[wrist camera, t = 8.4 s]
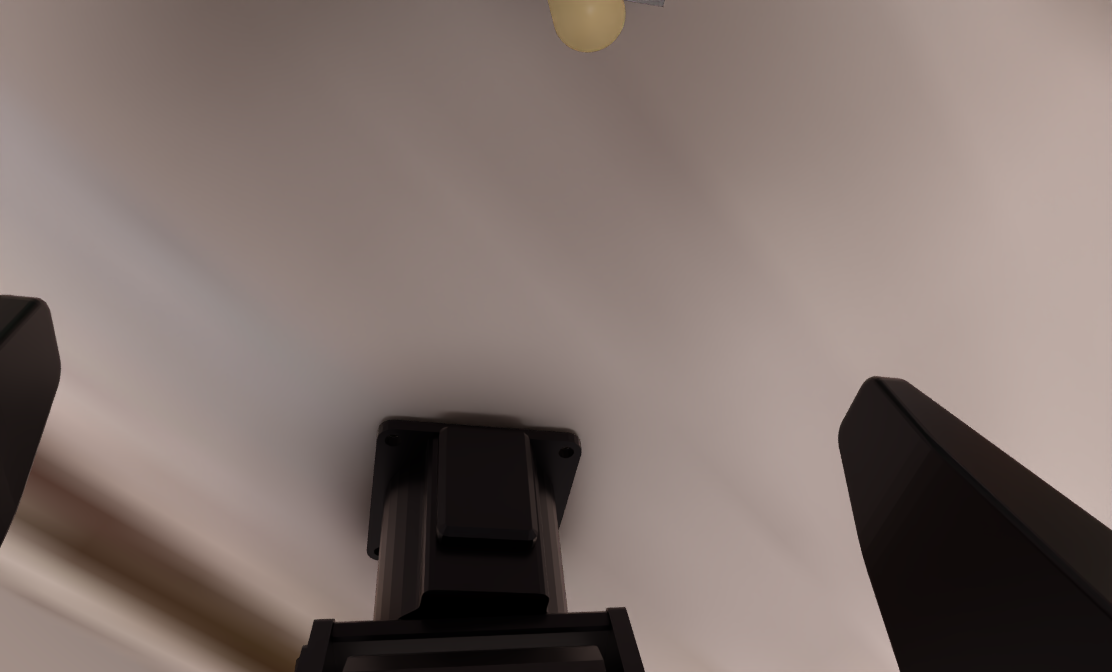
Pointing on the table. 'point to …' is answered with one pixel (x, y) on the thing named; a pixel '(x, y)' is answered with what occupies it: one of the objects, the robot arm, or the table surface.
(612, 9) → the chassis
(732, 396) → the table surface
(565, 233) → the table surface
